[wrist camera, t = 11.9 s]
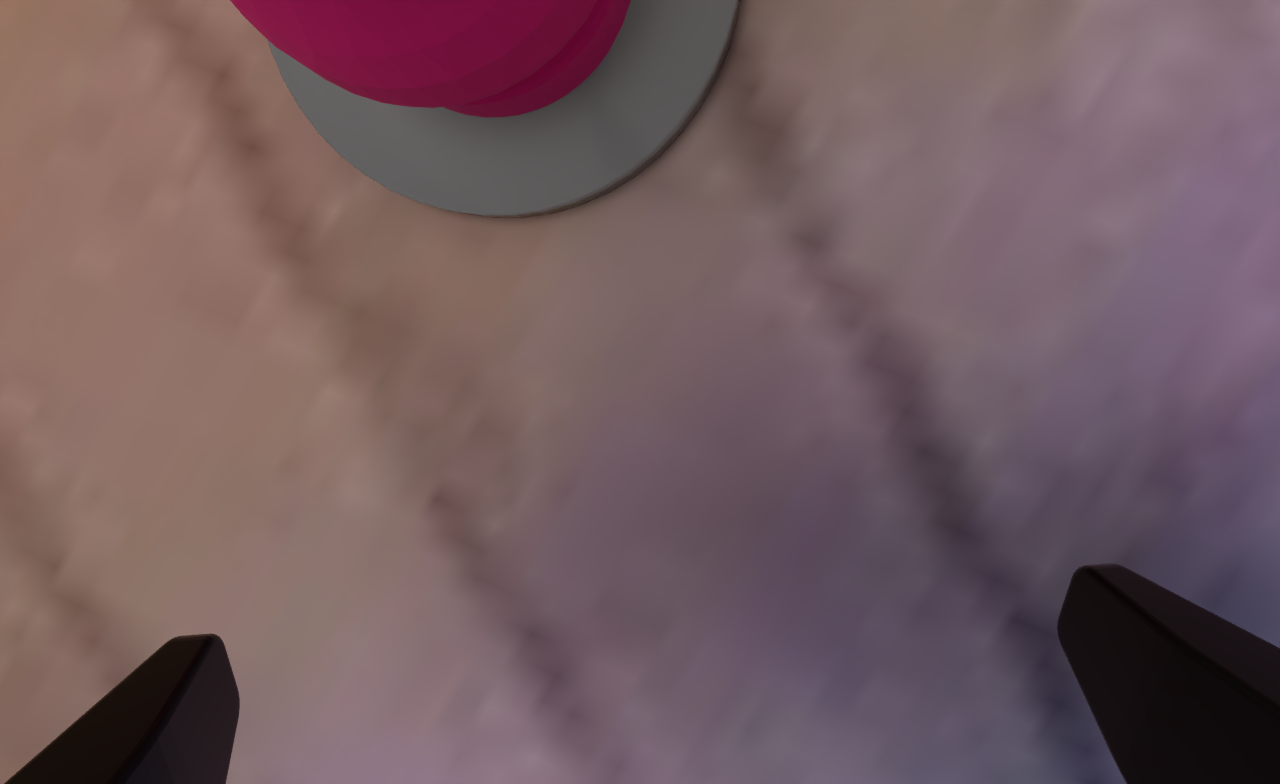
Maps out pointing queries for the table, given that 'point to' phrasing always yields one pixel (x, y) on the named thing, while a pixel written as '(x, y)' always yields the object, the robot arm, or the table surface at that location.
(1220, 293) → the table surface
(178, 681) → the robot arm
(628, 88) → the slate coaster
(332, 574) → the table surface
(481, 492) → the table surface
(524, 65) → the pepper mill
